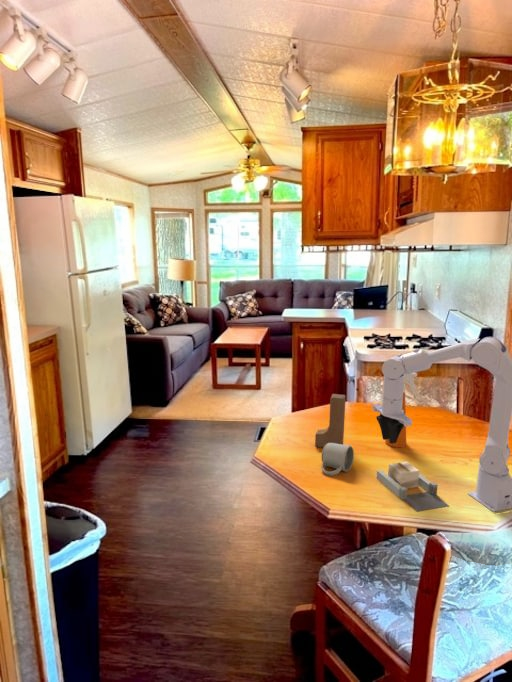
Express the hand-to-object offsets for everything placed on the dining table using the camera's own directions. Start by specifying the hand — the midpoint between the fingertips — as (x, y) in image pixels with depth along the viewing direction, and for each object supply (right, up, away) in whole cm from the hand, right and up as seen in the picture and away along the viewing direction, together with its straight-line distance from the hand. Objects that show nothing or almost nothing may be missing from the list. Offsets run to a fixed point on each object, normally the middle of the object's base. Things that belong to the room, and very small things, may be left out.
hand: (389, 440), depth 143 cm
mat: (+5, -13, -15) cm, 21 cm away
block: (+2, -11, -6) cm, 13 cm away
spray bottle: (+10, -6, +21) cm, 24 cm away
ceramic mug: (-15, -10, +3) cm, 19 cm away
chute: (+3, -12, -7) cm, 14 cm away
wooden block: (-15, -6, +20) cm, 26 cm away
